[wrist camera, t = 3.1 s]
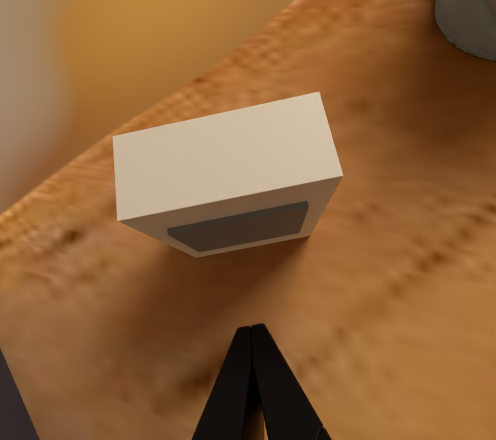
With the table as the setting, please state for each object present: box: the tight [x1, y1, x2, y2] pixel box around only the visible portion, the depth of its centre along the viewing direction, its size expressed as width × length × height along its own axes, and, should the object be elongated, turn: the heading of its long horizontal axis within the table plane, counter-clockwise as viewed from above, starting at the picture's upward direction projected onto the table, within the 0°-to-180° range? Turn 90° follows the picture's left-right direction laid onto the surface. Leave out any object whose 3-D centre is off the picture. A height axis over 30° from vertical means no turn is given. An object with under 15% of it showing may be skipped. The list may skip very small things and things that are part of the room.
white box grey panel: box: [113, 92, 343, 258], centre depth 13 cm, size 3×7×9 cm, turn 100°
